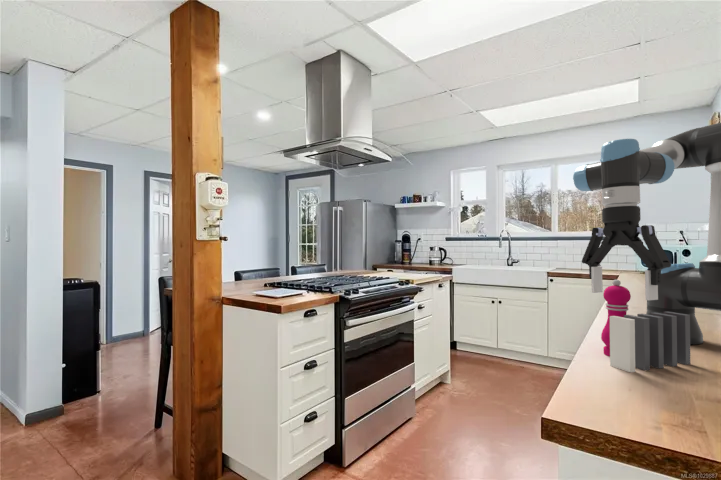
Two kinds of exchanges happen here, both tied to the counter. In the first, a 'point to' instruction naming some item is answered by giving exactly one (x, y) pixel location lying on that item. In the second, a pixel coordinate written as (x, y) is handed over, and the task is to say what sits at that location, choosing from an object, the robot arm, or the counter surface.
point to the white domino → (622, 343)
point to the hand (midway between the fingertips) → (622, 296)
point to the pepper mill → (614, 308)
